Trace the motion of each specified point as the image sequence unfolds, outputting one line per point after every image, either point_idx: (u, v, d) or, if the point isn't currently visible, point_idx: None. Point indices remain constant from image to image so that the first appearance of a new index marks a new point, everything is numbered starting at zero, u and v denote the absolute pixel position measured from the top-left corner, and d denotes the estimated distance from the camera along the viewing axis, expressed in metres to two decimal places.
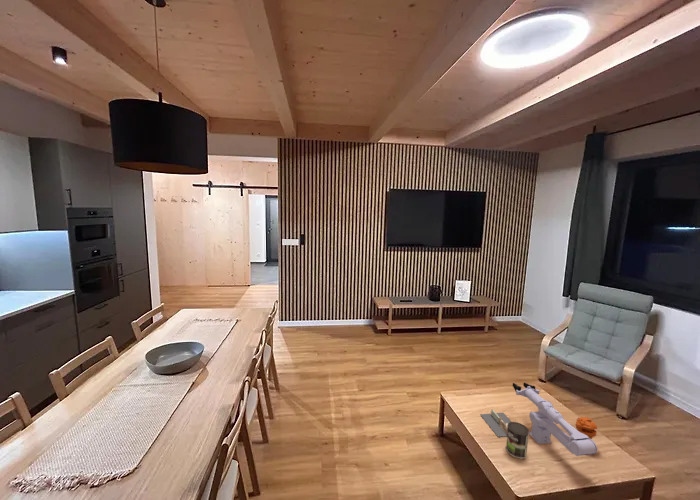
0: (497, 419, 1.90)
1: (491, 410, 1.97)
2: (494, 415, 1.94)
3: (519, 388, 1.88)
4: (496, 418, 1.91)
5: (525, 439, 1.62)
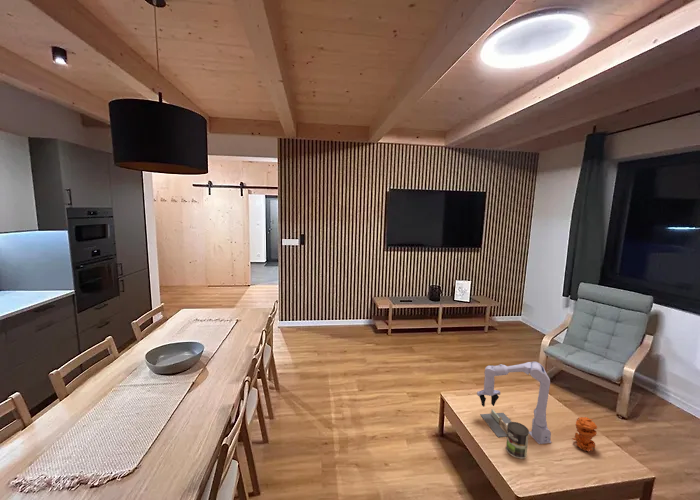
0: (497, 419, 1.90)
1: (491, 410, 1.97)
2: (494, 415, 1.94)
3: None
4: (496, 418, 1.91)
5: (525, 439, 1.62)
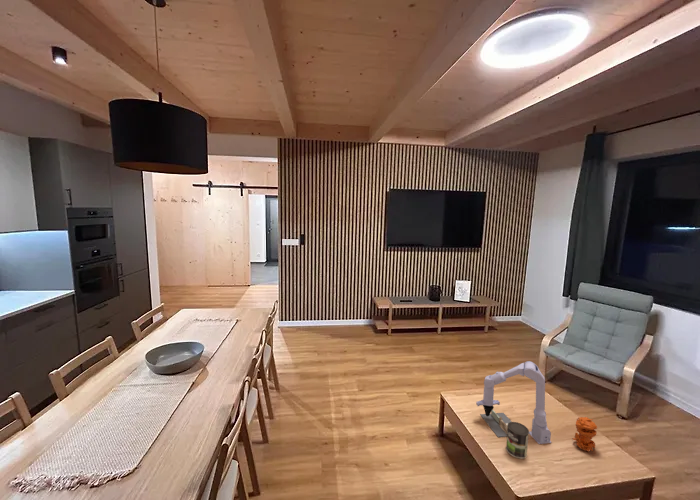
0: (497, 419, 1.90)
1: None
2: (494, 415, 1.94)
3: None
4: (496, 418, 1.91)
5: (525, 439, 1.62)
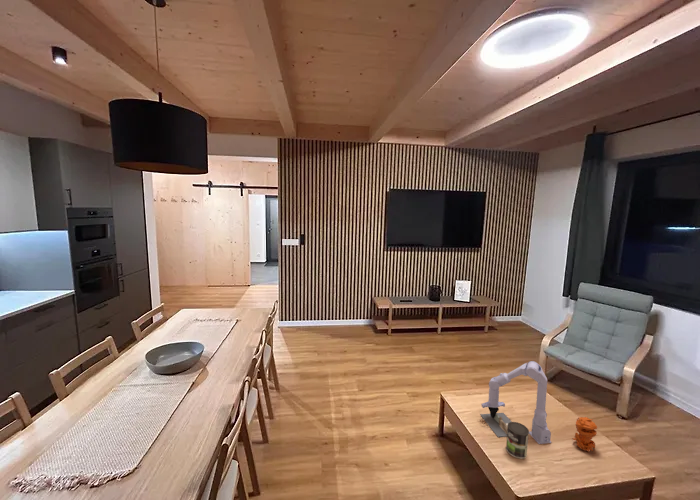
0: (497, 419, 1.90)
1: None
2: None
3: None
4: (496, 418, 1.91)
5: (525, 439, 1.62)
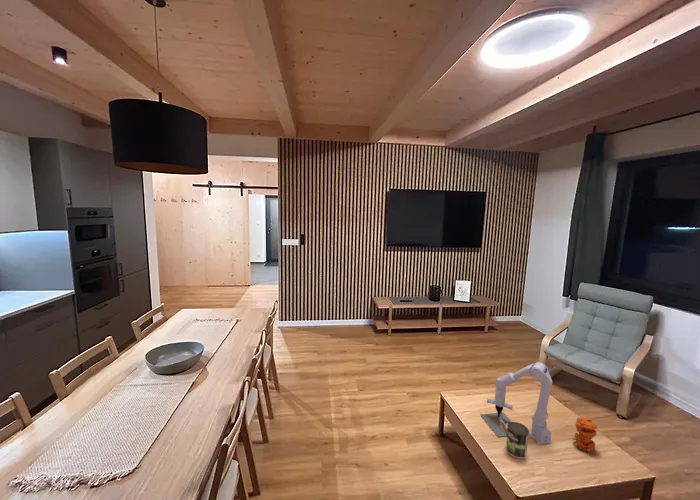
0: None
1: None
2: (500, 415, 1.93)
3: None
4: None
5: (525, 439, 1.62)
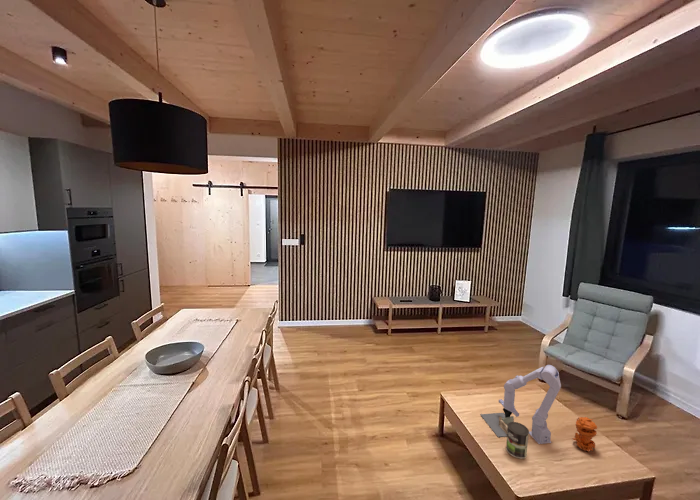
0: None
1: None
2: None
3: None
4: None
5: (525, 439, 1.62)
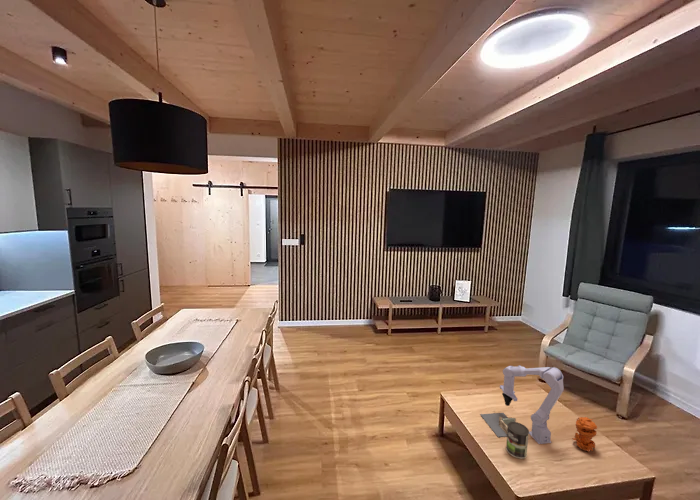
0: None
1: (514, 418, 1.89)
2: None
3: None
4: None
5: (525, 439, 1.62)
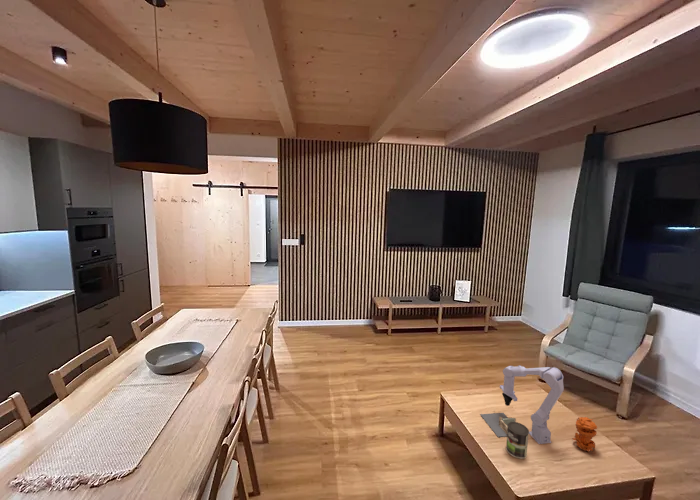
0: None
1: (514, 418, 1.89)
2: None
3: None
4: None
5: (525, 439, 1.62)
